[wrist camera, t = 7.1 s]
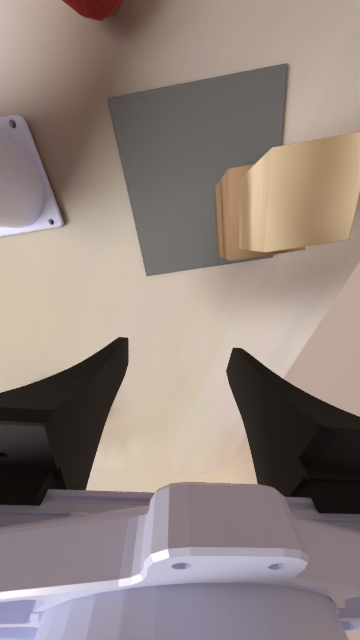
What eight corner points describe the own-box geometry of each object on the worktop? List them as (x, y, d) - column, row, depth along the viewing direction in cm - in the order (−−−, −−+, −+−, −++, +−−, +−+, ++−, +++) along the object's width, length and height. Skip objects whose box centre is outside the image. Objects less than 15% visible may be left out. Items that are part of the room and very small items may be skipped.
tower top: (222, 257, 16) (230, 260, 14) (220, 180, 14) (228, 168, 12) (287, 248, 16) (305, 249, 14) (295, 167, 14) (319, 152, 11)
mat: (147, 275, 20) (146, 276, 20) (109, 101, 14) (107, 98, 14) (270, 256, 19) (272, 257, 19) (284, 68, 14) (287, 63, 13)
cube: (239, 248, 14) (265, 252, 10) (239, 179, 12) (272, 147, 8) (296, 240, 14) (348, 239, 10) (305, 167, 12) (374, 129, 8)
